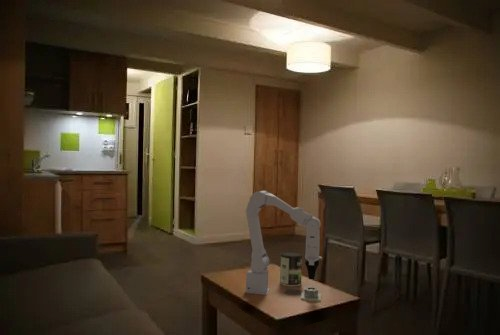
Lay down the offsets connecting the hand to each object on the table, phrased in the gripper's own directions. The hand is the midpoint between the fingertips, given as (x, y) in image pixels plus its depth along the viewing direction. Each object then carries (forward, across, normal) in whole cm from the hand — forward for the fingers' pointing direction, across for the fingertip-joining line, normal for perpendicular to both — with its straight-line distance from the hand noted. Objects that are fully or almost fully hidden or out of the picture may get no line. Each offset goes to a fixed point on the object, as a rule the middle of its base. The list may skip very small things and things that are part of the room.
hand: (311, 278), depth 161 cm
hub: (+8, 0, 0) cm, 8 cm away
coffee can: (+9, +18, +10) cm, 23 cm away
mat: (+8, +5, +8) cm, 13 cm away
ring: (+7, 0, 0) cm, 7 cm away
